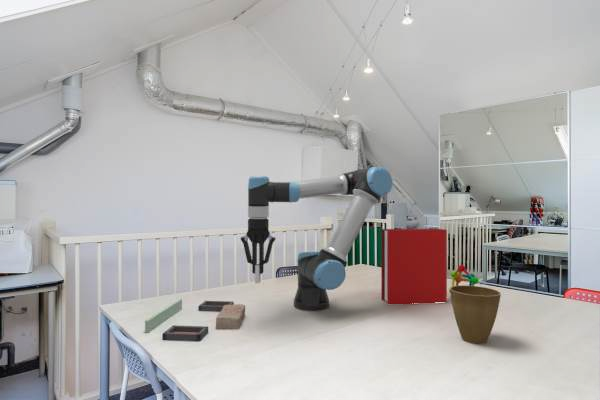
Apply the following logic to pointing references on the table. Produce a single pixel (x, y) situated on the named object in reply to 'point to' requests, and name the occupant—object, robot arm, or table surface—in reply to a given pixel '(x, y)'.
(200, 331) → the trap pits
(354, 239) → the robot arm
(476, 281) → the educational toy
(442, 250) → the book
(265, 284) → the table surface
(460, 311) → the plant pot
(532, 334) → the table surface
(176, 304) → the sage end wall
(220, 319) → the brick
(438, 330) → the table surface
